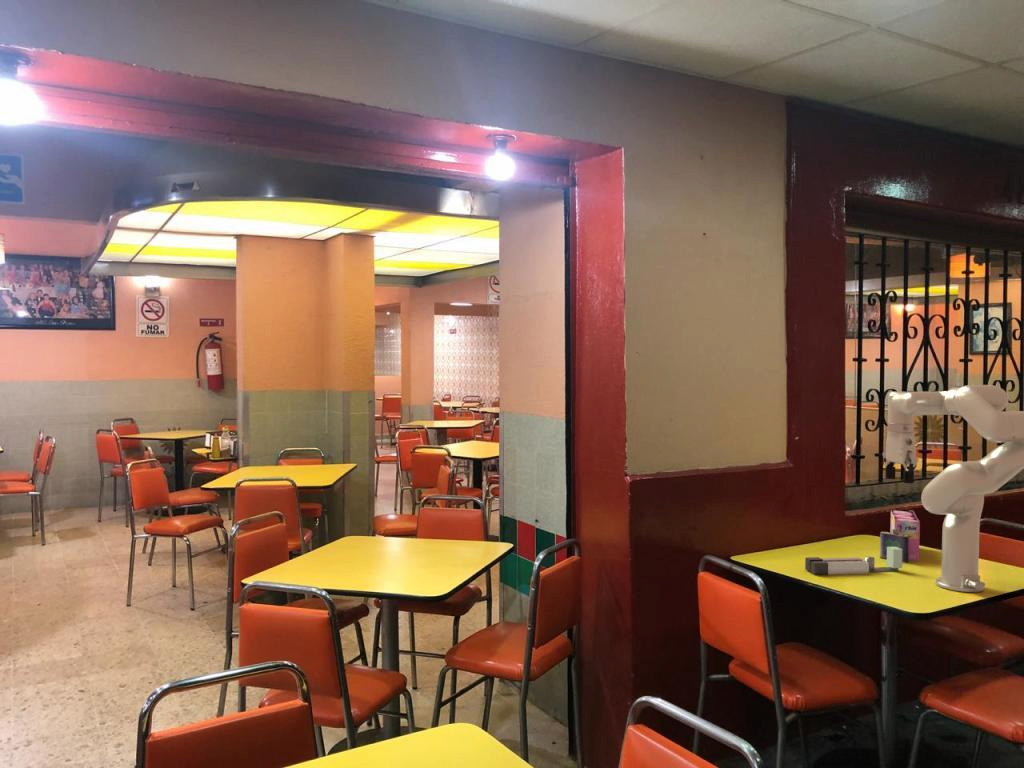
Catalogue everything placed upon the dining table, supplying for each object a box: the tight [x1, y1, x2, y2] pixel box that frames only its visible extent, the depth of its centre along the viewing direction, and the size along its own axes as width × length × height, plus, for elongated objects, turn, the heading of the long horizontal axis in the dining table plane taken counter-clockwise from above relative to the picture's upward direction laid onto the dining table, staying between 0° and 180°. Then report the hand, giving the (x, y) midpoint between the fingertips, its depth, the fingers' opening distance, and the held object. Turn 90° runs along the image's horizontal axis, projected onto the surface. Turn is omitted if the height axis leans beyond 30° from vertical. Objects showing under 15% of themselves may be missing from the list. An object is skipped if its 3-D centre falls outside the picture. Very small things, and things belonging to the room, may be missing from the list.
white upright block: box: [886, 547, 903, 569], centre depth 247 cm, size 4×3×6 cm
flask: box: [879, 529, 909, 564], centre depth 260 cm, size 9×3×11 cm, turn 41°
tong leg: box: [804, 556, 864, 572], centre depth 246 cm, size 3×18×4 cm, turn 97°
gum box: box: [889, 508, 921, 562], centre depth 271 cm, size 24×8×14 cm, turn 157°
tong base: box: [809, 556, 899, 576], centre depth 244 cm, size 4×30×4 cm, turn 97°
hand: (899, 480), depth 251 cm, fingers open, 9 cm apart
